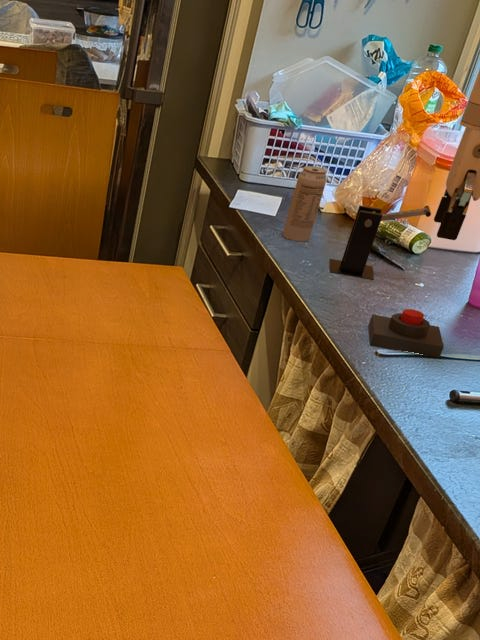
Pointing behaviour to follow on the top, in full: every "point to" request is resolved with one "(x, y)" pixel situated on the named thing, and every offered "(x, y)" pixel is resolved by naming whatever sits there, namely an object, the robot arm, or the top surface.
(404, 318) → the button
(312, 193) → the energy drink can
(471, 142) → the robot arm
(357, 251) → the bracket
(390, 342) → the control block
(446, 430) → the top surface
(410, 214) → the lever
